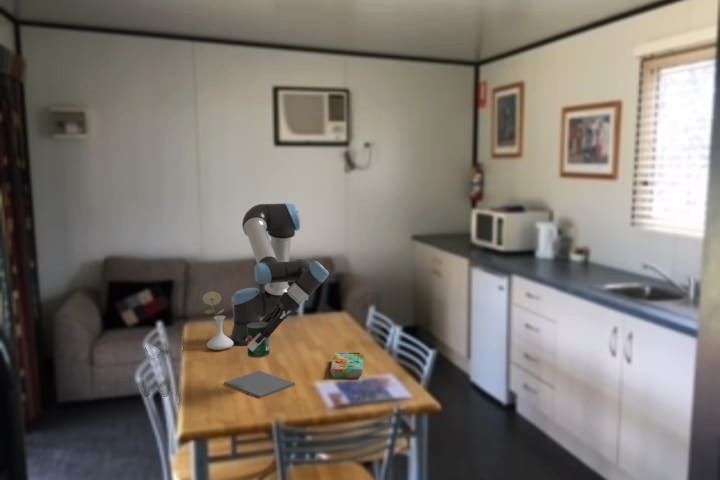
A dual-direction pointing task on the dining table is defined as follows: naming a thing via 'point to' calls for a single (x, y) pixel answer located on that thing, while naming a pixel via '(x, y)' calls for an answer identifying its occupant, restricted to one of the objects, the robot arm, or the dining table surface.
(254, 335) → the canned tomato
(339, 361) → the puzzle game
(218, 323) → the flower in vase
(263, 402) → the dining table surface
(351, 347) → the dining table surface
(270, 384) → the mat
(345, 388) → the dining table surface
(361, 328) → the dining table surface
